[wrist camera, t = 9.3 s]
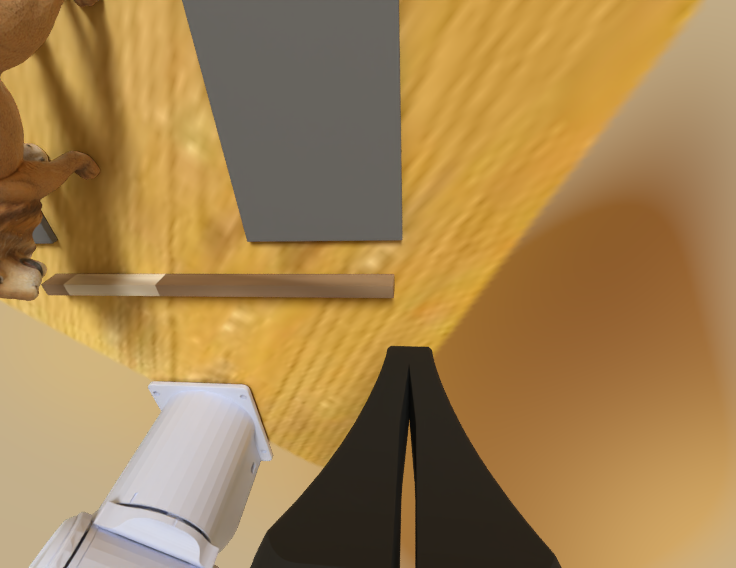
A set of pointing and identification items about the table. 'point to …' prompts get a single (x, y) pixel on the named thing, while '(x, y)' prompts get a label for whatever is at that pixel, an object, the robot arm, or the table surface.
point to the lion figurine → (26, 152)
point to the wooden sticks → (224, 285)
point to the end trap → (43, 233)
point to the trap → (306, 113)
